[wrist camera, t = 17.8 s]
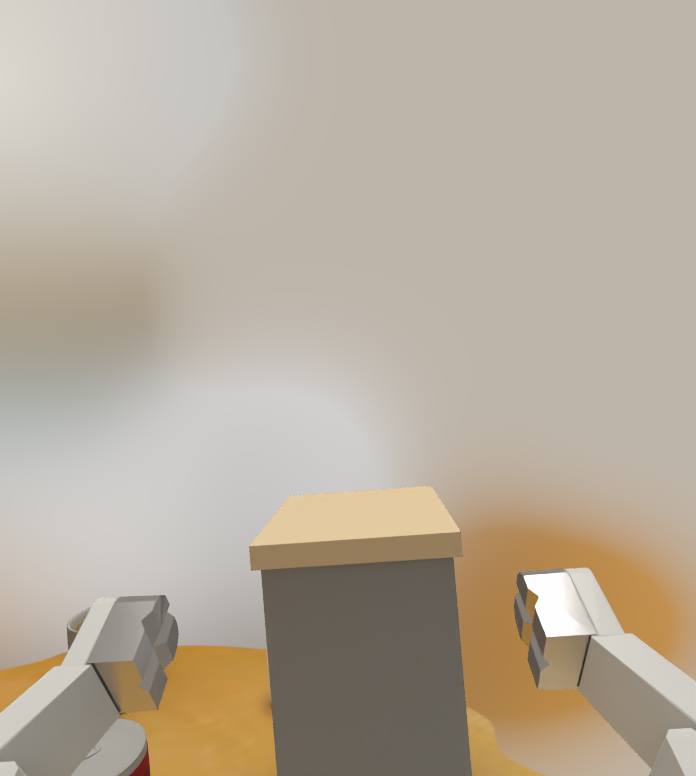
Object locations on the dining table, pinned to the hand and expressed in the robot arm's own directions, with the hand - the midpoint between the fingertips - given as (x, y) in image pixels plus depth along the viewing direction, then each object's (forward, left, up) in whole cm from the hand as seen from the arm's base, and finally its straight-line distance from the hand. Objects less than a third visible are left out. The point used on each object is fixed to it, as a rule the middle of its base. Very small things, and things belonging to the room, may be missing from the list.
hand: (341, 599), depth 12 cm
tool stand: (+25, +10, -30) cm, 40 cm away
